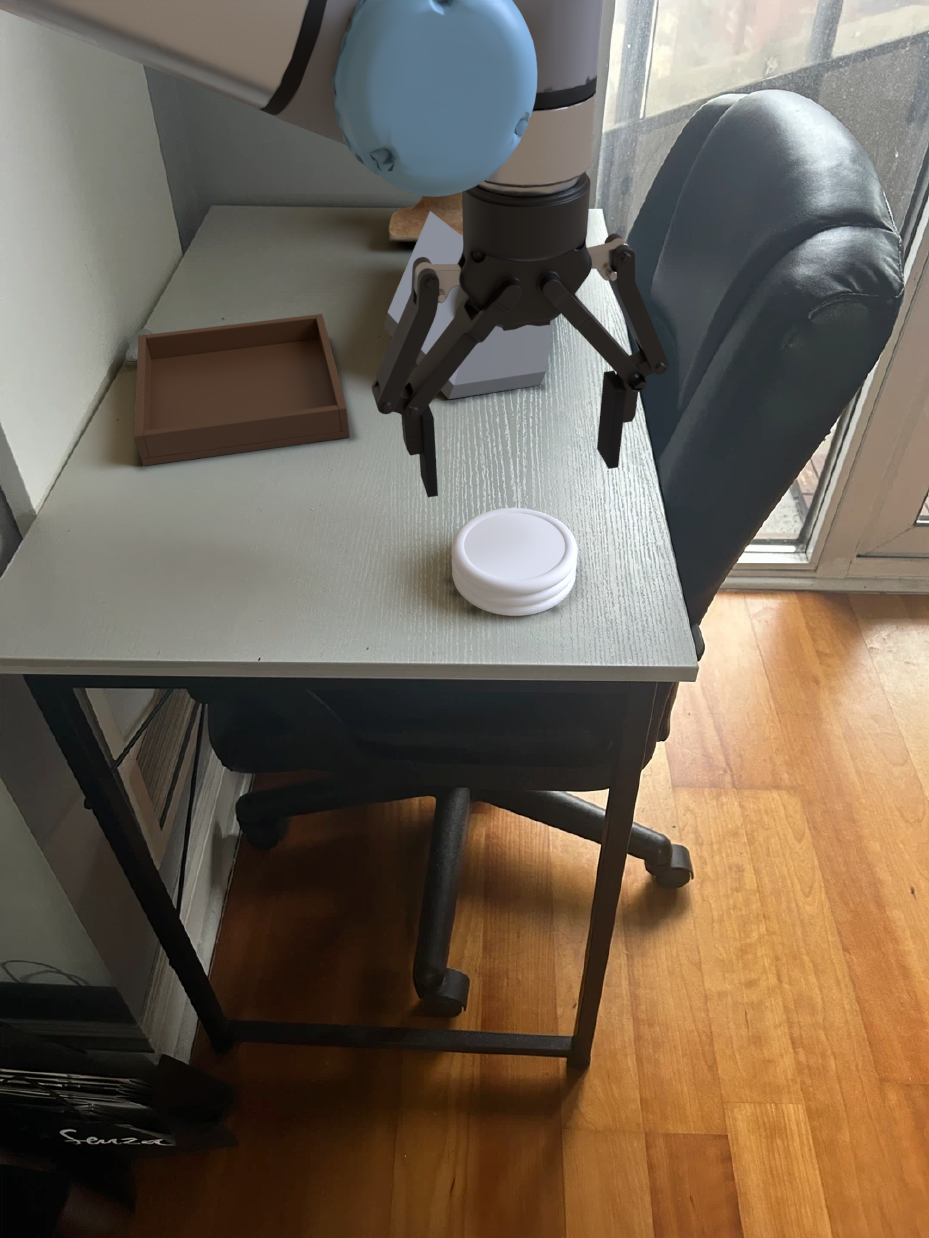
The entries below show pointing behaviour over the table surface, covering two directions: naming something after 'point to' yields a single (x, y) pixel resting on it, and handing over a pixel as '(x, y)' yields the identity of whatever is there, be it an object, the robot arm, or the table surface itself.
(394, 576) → the table surface
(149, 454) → the holder
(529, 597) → the coaster
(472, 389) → the shield
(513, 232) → the robot arm
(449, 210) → the stone cup
